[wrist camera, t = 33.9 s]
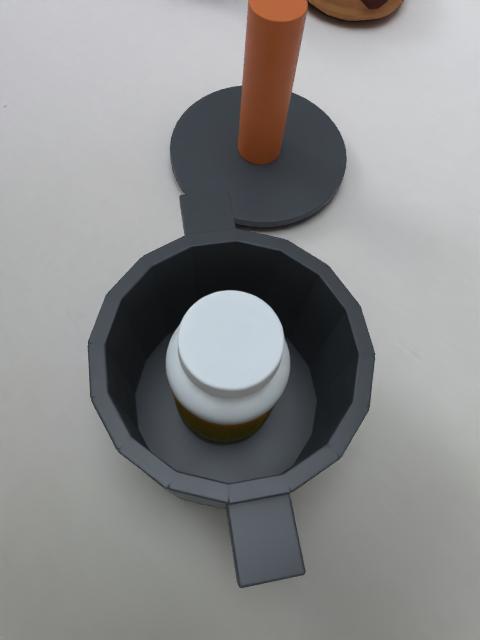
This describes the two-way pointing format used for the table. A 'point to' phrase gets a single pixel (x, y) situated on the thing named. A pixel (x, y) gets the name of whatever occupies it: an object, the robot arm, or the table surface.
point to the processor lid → (262, 131)
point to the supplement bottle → (227, 366)
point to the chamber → (288, 414)
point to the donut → (356, 8)
